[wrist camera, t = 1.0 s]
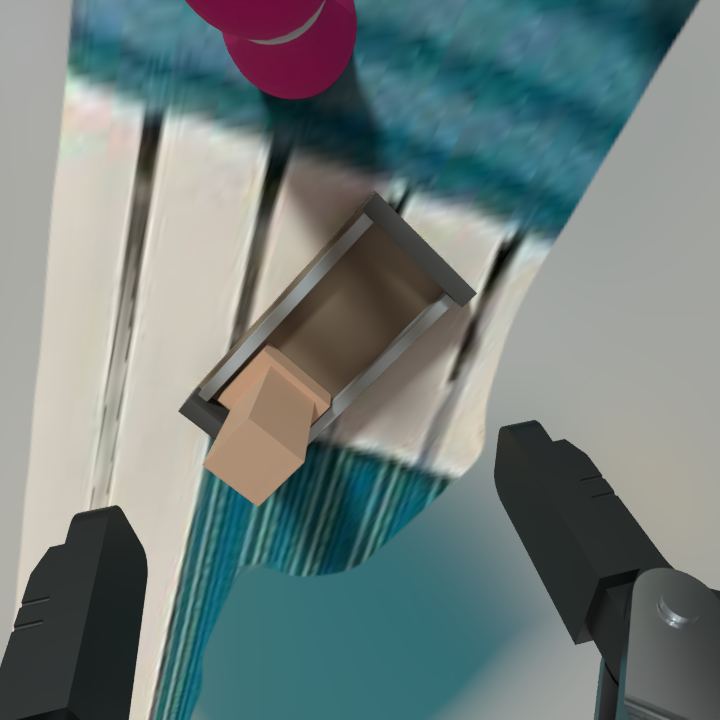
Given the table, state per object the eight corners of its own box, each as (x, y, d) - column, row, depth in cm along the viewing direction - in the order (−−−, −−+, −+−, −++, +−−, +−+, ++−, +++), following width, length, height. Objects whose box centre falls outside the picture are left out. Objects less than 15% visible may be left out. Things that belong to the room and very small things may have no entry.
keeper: (268, 341, 37) (239, 399, 28) (331, 394, 39) (323, 467, 29) (224, 389, 38) (182, 460, 29) (286, 438, 40) (265, 521, 30)
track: (375, 191, 35) (377, 193, 32) (465, 281, 38) (476, 293, 34) (193, 390, 40) (178, 411, 37) (283, 460, 42) (276, 486, 39)
